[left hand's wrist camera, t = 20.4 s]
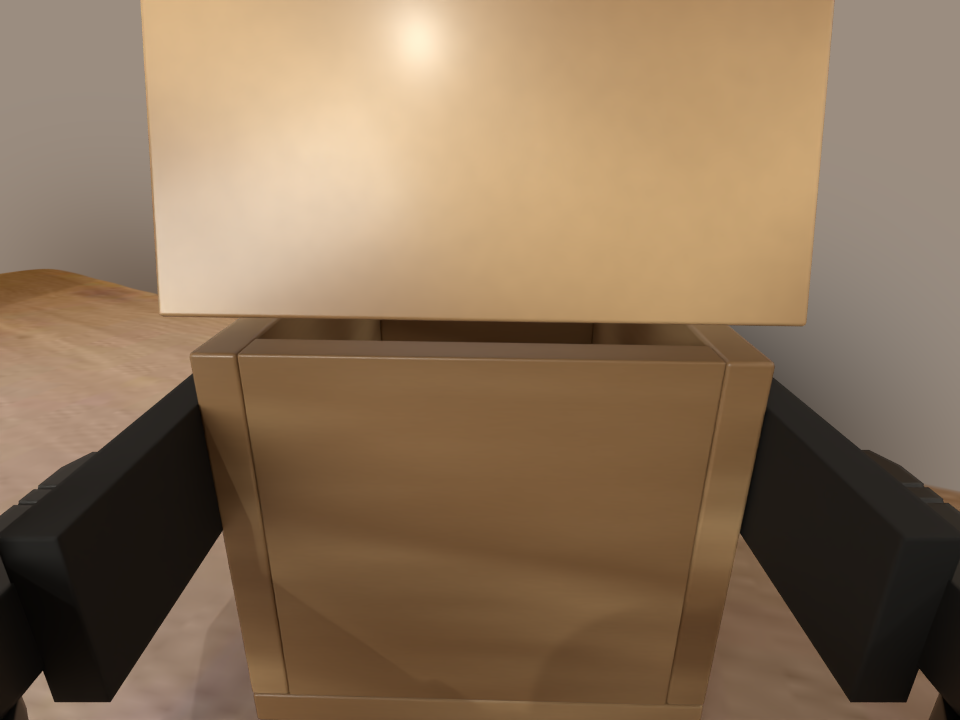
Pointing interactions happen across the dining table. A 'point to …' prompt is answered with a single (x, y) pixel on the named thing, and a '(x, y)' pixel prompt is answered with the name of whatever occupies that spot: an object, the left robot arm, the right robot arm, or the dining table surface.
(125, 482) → the left robot arm
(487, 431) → the chest
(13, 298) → the dining table surface
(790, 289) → the lid
